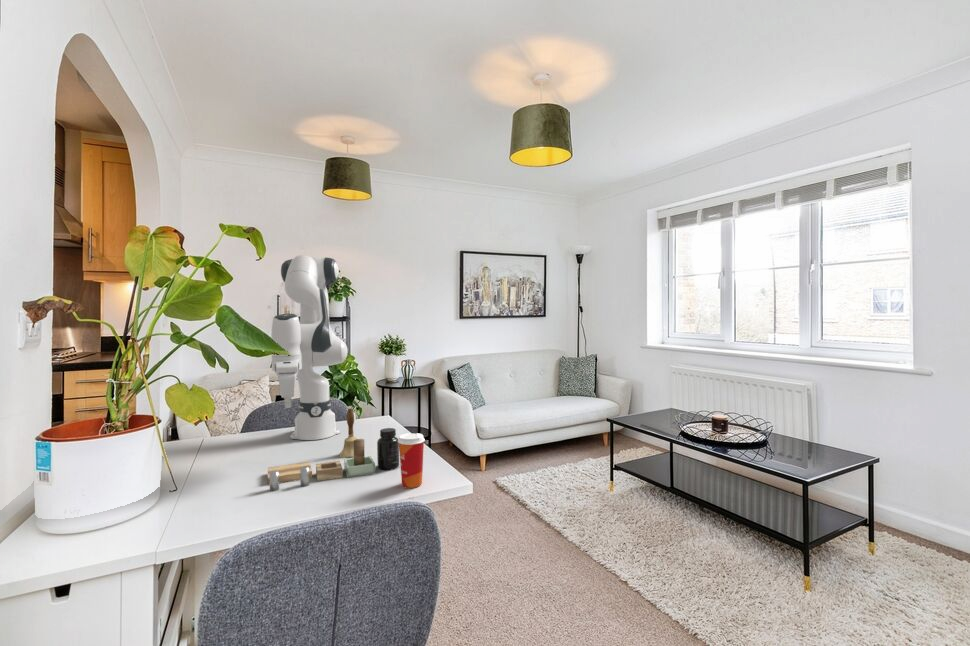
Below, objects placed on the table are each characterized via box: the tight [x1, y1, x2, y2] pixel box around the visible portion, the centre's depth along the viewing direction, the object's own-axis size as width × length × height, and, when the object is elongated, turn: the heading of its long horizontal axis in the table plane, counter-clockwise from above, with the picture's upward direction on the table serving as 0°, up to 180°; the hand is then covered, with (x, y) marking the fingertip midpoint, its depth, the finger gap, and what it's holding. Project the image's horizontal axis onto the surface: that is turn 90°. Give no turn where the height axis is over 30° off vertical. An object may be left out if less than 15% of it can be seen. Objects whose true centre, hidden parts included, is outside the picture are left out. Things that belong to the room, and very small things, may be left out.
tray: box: [343, 455, 376, 478], centre depth 144 cm, size 8×8×3 cm
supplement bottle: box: [376, 427, 400, 471], centre depth 147 cm, size 7×7×12 cm
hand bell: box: [338, 407, 358, 459], centre depth 161 cm, size 8×8×16 cm
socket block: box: [315, 460, 343, 482], centre depth 140 cm, size 7×7×3 cm
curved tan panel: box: [267, 461, 313, 486], centre depth 140 cm, size 10×12×2 cm
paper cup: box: [398, 432, 426, 489], centre depth 132 cm, size 8×8×14 cm
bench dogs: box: [269, 466, 311, 492], centre depth 131 cm, size 2×10×5 cm, turn 113°
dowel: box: [353, 438, 366, 466], centre depth 144 cm, size 3×3×9 cm
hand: (288, 407), depth 149 cm, fingers closed
